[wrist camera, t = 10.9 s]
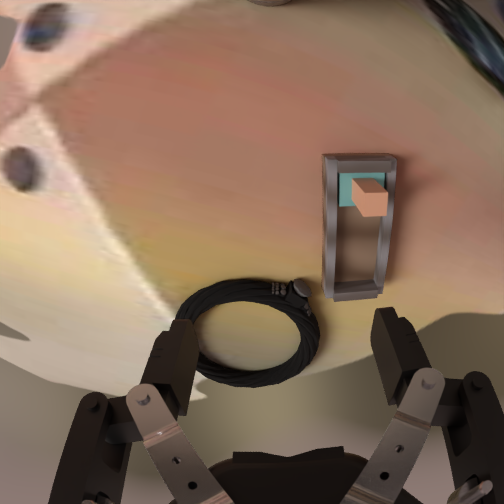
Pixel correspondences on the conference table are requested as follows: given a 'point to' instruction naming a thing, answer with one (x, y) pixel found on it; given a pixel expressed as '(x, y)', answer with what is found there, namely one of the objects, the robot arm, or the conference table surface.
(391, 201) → the board
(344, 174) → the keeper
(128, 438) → the robot arm
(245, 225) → the conference table surface
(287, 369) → the cable lock
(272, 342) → the conference table surface
